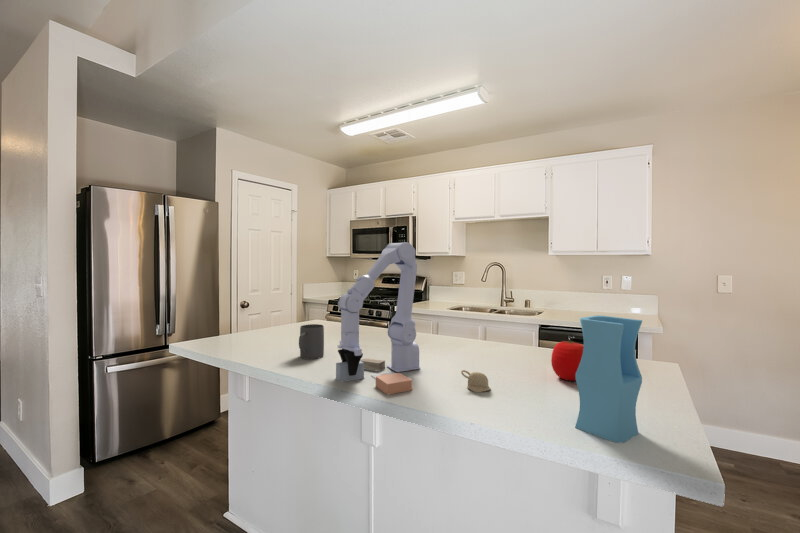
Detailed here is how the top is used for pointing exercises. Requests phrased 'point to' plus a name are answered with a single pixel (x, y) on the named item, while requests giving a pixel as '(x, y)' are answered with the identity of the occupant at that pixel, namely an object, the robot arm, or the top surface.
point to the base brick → (393, 383)
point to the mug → (311, 341)
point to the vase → (609, 378)
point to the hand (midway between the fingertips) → (350, 373)
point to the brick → (373, 364)
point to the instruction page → (382, 374)
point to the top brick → (343, 372)
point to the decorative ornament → (477, 381)
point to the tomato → (567, 359)
